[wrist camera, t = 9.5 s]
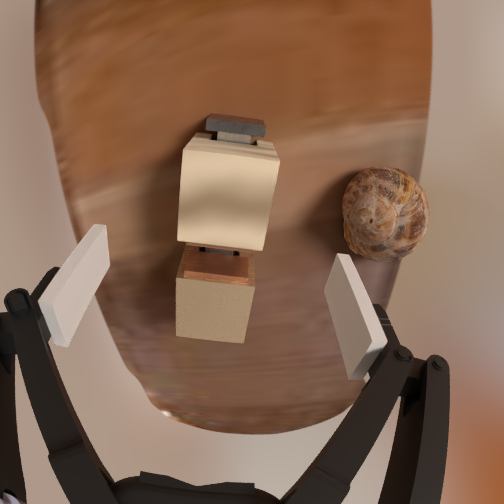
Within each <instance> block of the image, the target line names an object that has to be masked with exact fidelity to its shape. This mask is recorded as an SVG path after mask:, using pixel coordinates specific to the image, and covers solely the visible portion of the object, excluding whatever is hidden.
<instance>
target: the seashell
mask: <svg viewBox="0 0 504 504" xmlns="http://www.w3.org/2000/svg"><path fill="white" fill-rule="evenodd" d="M342 210H343V218H344V226H343V227H344V238H345V240H346V241H347V243H348V246H349V247H350V249H351V250H352V251H353V252H355V253H356V254H358V255H362V256H363V257H365V258H367V259H369V260H372V261H376V262H390V261H395V260H398V259H401V258H403V257H405V256H407V255H408V254H409V253H410V252H412V251H413V250H414V249H415V248H416V247H417V246H418V245H419V243H420V242H421V241H422V239H423V237H424V235H425V232H426V230H427V226H428V220H429V207H428V202H427V198H426V195H425V193H424V191H423V189H422V188H421V186H420V185H419V184H418V182H417V181H416V180H415V179H413V178H412V177H410V176H409V175H408V174H406V173H405V172H403V171H402V170H399V169H394V168H389V167H372V168H368V169H365V170H363V171H362V172H360V173H359V174H358V175H357V176H356V177H354V178H353V179H352V180H351V182H350V183H349V184H348V186H347V188H346V190H345V193H344V196H343V201H342Z"/></svg>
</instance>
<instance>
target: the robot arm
mask: <svg viewBox="0 0 504 504" xmlns="http://www.w3.org/2000/svg"><path fill="white" fill-rule="evenodd" d="M109 267H110V260H109V251H108V241H107V231H106V225H99V224H94V225H93V226H92V227H91V229H90V230H89V231H88V232H87V234H86V235H85V236H84V237H83V239H82V240H81V241H80V243H79V244H78V245H77V246H76V248H75V249H74V250H73V252H72V253H71V254H70V256H69V257H68V258H67V260H66V261H65V263H64V264H63V265H62V267H61V268H59V267H54V268H52V269H51V270H49V271H48V272H47V273H46V275H45V276H44V277H43V278H42V280H41V281H40V283H39V285H37V287H36V288H35V290H34V291H33V293H32V294H31V295H29V293H28V291H27V290H25V289H22V288H18V289H14V290H12V291H10V292H9V293H8V294H7V295H6V296H5V298H4V304H5V306H6V309H7V311H8V312H2V313H0V504H27V501H26V489H25V482H24V477H23V471H22V465H21V458H20V452H19V443H18V434H17V423H16V406H15V354H17V355H18V360H19V364H20V368H21V372H22V376H23V379H24V383H25V386H26V390H27V393H28V396H29V399H30V402H31V406H32V409H33V412H34V414H35V417H36V420H37V423H38V426H39V428H40V431H41V433H42V436H43V439H44V441H45V443H46V446H47V448H48V451H49V455H48V458H49V462H50V464H51V466H52V469H53V471H54V473H55V475H56V477H57V479H58V481H59V483H60V485H61V487H62V489H63V491H64V493H65V495H66V497H67V498H68V500H69V502H70V504H341V503H342V501H343V500H344V498H345V497H346V495H347V494H348V492H349V490H350V483H351V481H352V480H353V478H354V477H355V475H356V474H357V472H358V470H359V469H360V467H361V465H362V464H363V462H364V461H365V459H366V457H367V455H368V454H369V452H370V450H371V448H372V447H373V445H374V443H375V441H376V440H377V437H378V436H379V434H380V432H381V430H382V428H383V427H384V425H385V423H386V421H387V419H388V417H389V415H390V413H391V411H392V409H393V407H394V405H395V403H396V401H397V399H398V396H401V402H400V409H399V415H398V420H397V426H396V431H395V436H394V442H393V446H392V451H391V456H390V460H389V464H388V468H387V472H386V476H385V480H384V484H383V487H382V491H381V494H380V498H379V501H378V504H440V500H441V494H442V487H443V480H444V474H445V465H446V456H447V446H448V432H449V409H450V378H449V377H450V375H449V365H448V363H447V361H446V360H445V359H444V358H442V357H441V356H439V355H431V356H430V357H429V358H428V359H427V360H426V361H425V360H421V359H418V358H414V357H413V354H412V353H411V351H410V350H409V349H407V348H406V347H404V346H402V345H400V343H399V340H398V338H397V336H396V334H395V332H394V329H393V327H392V326H391V323H390V320H388V316H387V314H386V312H385V310H384V309H383V308H382V307H381V306H380V305H379V304H372V303H371V301H370V299H369V296H368V294H367V292H366V290H365V288H364V285H363V283H362V281H361V279H360V277H359V275H358V272H357V270H356V268H355V266H354V264H353V262H352V260H351V258H350V256H349V255H347V254H339V253H337V255H336V258H335V260H334V263H333V266H332V269H331V272H330V275H329V277H328V280H327V283H326V286H325V288H324V293H325V296H326V300H327V303H328V307H329V310H330V313H331V317H332V320H333V324H334V327H335V331H336V334H337V338H338V341H339V345H340V349H341V352H342V356H343V360H344V363H345V367H346V371H347V375H348V379H363V378H364V377H365V375H366V374H367V372H368V373H369V376H370V379H369V380H368V382H367V383H366V385H365V386H364V387H363V389H362V390H361V391H362V392H361V393H360V395H359V396H358V398H357V400H356V401H355V403H354V404H353V406H352V407H351V409H350V410H349V412H348V413H347V415H346V416H345V418H344V419H343V421H342V422H341V424H340V425H339V427H338V428H337V430H336V431H335V432H334V434H333V435H332V437H331V438H330V439H329V441H328V442H327V444H326V445H325V446H324V448H323V449H322V450H321V452H320V453H319V454H318V456H317V457H316V458H315V460H314V461H313V462H312V463H311V465H310V466H309V467H308V469H307V470H306V471H305V472H304V474H303V475H302V476H301V477H300V478H299V480H298V481H297V482H296V483H295V484H294V485H293V486H292V487H291V489H290V490H289V491H288V492H287V493H286V494H285V495H284V496H283V497H282V498H281V499H280V500H279V499H278V498H276V497H275V496H273V495H271V494H269V493H267V492H265V491H263V490H260V489H256V488H254V483H236V482H224V483H218V484H210V485H203V486H194V485H191V484H189V483H186V482H183V481H180V480H177V479H175V478H172V477H170V476H166V475H159V474H153V473H148V472H143V471H141V472H140V476H134V477H128V478H125V479H122V480H119V481H117V482H114V480H113V479H112V477H111V476H110V474H109V473H108V471H107V470H106V468H105V467H104V465H103V464H102V462H101V460H100V459H99V457H98V455H97V453H96V452H95V450H94V448H93V446H92V444H91V442H90V440H89V438H88V436H87V435H86V432H85V431H84V428H83V426H82V425H81V422H80V420H79V418H78V416H77V414H76V412H75V410H74V407H73V405H72V403H71V401H70V398H69V396H68V394H67V391H66V389H65V386H64V384H63V381H62V379H61V377H60V374H59V371H58V369H57V366H56V363H55V360H54V358H53V355H52V352H51V349H50V346H49V344H48V341H49V339H50V337H52V340H53V342H54V344H55V345H59V346H63V347H66V348H68V346H69V344H70V342H71V340H72V338H73V335H74V334H75V331H76V329H77V327H78V325H79V323H80V321H81V319H82V317H83V315H84V313H85V311H86V309H87V307H88V305H89V303H90V301H91V299H92V298H93V296H94V294H95V292H96V290H97V288H98V286H99V285H100V283H101V281H102V279H103V277H104V275H105V274H106V272H107V270H108V268H109Z"/></svg>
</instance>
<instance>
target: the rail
mask: <svg viewBox="0 0 504 504" xmlns="http://www.w3.org/2000/svg"><path fill="white" fill-rule="evenodd" d="M265 128H266V126H265V123H264V121H263V120H258V119H251V118H244V117H236V116H228V115H220V114H211V115H210V116H209V117H208V118H207V120H206V129H205V130H209V131H218V135H217V141H224V142H232V143H239V144H247V145H250V141H251V136H257V137H263V138H264V134H265ZM233 252H234V251H233V250H224V249H216V248H208V247H205V252H200V247H199V246H191V245H186V246H185V249H184V252H183V256H182V259H181V263H180V266H179V269H178V273H177V276H176V336H181V337H189V338H197V339H206V340H215V341H224V342H234V343H244V338H245V334H246V329H247V324H248V319H249V314H250V309H251V305H252V300H253V295H254V290H255V275H254V256H253V253H249V252H241V251H239V253H238V256H234V255H233Z"/></svg>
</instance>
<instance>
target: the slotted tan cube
mask: <svg viewBox="0 0 504 504" xmlns="http://www.w3.org/2000/svg"><path fill="white" fill-rule="evenodd" d="M211 139H212V134H208V133H198V132H197V133H196V134H195V135H194V137H193V138H192V139H191V140H190V142H189V143H188V144H187V145H186V147H185V148H184V149H183V157H182V169H181V182H180V196H179V213H178V234H177V241H185V242H186V245H191V246H199V247H208V248H216V249H224V250H233V251H241V252H249V253H253V251H254V250H260V251H262V250H263V245H264V240H265V235H266V230H267V225H268V220H269V215H270V210H271V205H272V200H273V195H274V190H275V185H276V180H277V175H278V170H279V165H280V160H279V158H278V155H277V153H276V151H275V148H274V146H273V143H272V142H268V141H262V140H257V142H256V146H254V145H247V144H239V143H232V142H224V141H215V140H211Z"/></svg>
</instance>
